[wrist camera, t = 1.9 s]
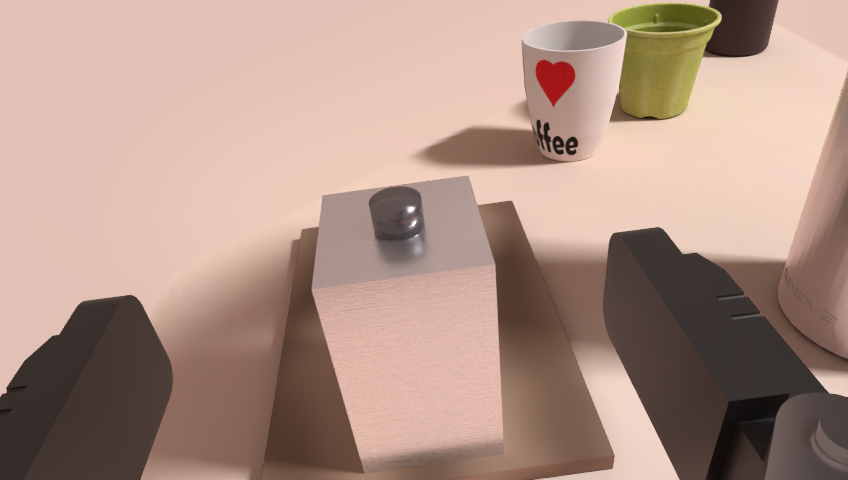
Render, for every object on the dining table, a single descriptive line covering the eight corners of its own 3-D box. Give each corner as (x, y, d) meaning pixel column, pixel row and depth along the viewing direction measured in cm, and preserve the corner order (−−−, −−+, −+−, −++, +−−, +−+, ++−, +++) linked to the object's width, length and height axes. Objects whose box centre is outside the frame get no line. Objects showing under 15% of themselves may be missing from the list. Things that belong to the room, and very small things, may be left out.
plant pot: (648, 137, 52) (661, 39, 47) (582, 105, 59) (587, 17, 54) (727, 110, 54) (747, 15, 49) (654, 82, 62) (665, -3, 57)
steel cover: (481, 351, 31) (466, 150, 24) (504, 454, 26) (493, 236, 19) (364, 367, 31) (316, 171, 24) (364, 473, 26) (303, 261, 19)
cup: (505, 145, 53) (502, 35, 48) (576, 121, 56) (581, 14, 50) (560, 180, 47) (564, 59, 42) (636, 151, 50) (650, 33, 44)
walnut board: (512, 211, 44) (511, 200, 44) (612, 468, 26) (614, 455, 26) (304, 240, 44) (301, 229, 44) (263, 516, 26) (257, 504, 26)
